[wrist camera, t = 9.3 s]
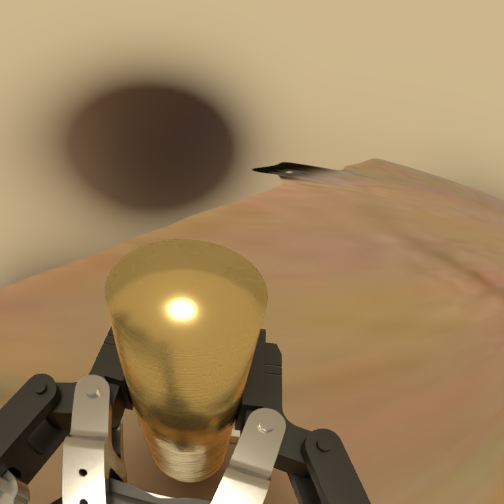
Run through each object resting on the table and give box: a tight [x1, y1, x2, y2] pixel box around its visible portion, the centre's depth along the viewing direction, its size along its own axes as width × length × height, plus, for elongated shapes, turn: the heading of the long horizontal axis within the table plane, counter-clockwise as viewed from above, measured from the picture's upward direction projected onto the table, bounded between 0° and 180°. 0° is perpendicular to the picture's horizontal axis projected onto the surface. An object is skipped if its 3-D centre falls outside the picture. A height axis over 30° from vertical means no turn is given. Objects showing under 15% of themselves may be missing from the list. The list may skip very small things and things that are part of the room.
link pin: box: [105, 239, 268, 482], centre depth 11 cm, size 4×4×12 cm
